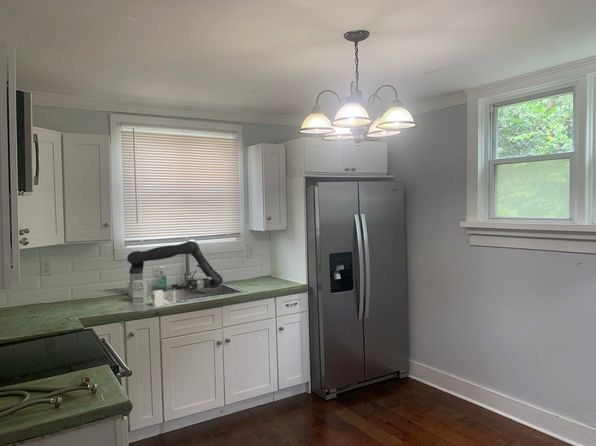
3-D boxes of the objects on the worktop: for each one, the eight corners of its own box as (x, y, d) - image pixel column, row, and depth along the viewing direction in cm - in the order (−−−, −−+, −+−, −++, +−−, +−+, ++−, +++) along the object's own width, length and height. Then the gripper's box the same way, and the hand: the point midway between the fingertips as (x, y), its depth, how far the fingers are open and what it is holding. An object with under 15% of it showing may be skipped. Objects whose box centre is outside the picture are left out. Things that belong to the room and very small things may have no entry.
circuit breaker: (152, 299, 322) (151, 278, 321) (143, 303, 308) (142, 281, 307) (142, 298, 323) (141, 278, 322) (132, 303, 309) (132, 281, 308)
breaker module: (150, 305, 301) (150, 291, 300) (161, 304, 305) (161, 289, 305) (153, 307, 298) (152, 292, 297) (163, 305, 302) (163, 290, 302)
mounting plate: (118, 308, 293) (118, 307, 293) (131, 304, 304) (131, 303, 304) (143, 311, 285) (143, 310, 285) (155, 307, 297) (155, 306, 297)
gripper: (191, 277, 324) (169, 280, 314) (200, 280, 313) (178, 283, 303) (191, 288, 324) (170, 291, 314) (200, 291, 313) (178, 294, 303)
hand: (174, 287), depth 308 cm, fingers open, 8 cm apart
